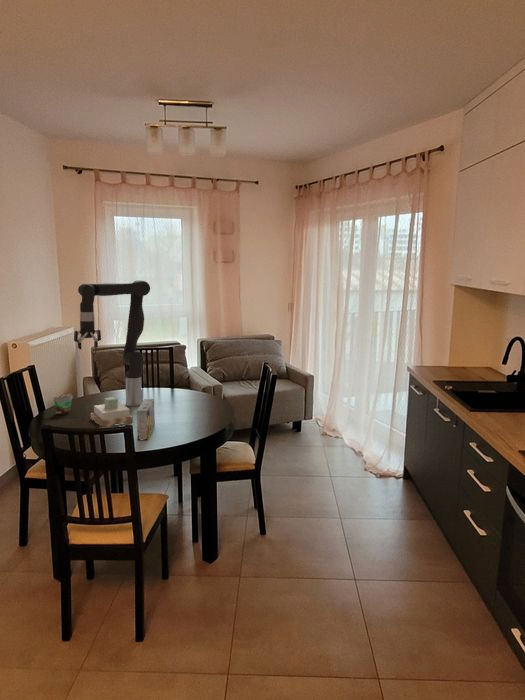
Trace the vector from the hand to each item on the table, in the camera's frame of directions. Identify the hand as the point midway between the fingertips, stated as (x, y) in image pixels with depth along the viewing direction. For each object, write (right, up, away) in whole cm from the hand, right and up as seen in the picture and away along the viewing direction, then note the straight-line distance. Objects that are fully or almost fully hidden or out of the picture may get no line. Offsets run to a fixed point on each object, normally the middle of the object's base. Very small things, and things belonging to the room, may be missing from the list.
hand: (87, 348), depth 254 cm
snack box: (+40, -43, -28) cm, 65 cm away
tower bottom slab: (+17, -40, -11) cm, 45 cm away
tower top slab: (+17, -36, -11) cm, 41 cm away
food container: (-12, -36, 0) cm, 38 cm away
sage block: (+17, -32, -12) cm, 38 cm away
